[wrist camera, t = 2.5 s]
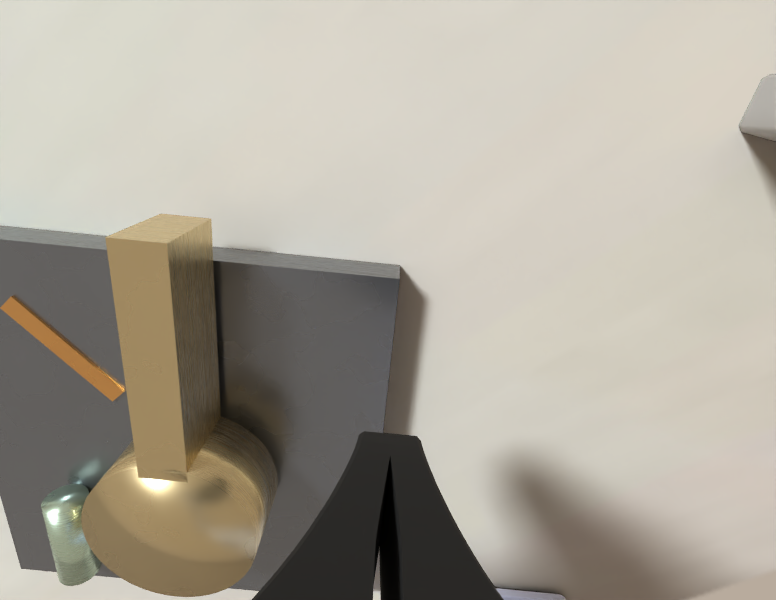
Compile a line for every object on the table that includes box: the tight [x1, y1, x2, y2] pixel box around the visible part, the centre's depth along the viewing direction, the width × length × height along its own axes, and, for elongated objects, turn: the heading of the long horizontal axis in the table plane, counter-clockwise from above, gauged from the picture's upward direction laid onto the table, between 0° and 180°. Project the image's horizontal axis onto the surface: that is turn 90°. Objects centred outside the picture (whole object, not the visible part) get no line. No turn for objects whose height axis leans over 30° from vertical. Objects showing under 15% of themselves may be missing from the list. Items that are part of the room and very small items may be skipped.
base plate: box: [0, 226, 400, 591], centre depth 19 cm, size 16×16×3 cm
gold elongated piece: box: [81, 214, 278, 597], centre depth 16 cm, size 14×6×3 cm, turn 175°
